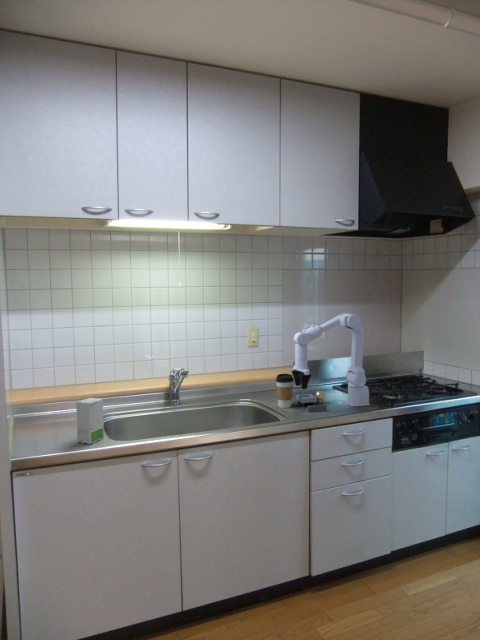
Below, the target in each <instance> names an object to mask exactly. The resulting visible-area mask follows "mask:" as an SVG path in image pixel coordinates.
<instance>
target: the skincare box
mask: <svg viewBox="0 0 480 640" xmlns="http://www.w3.org/2000/svg"><path fill="white" fill-rule="evenodd" d="M75 405H76V431H77V432H76V433H77V443H79V442H81V443H80V444H84V443H87V444H86V445H92V444H94V443H97V442H99V441H101V440H103V438H104V439H105V432H104V427H105V426H104V401H103V398H99V397H98V398H96V397H89V398H86V399H85V398H84V399H82V400H78V401H76V402H75ZM98 440H99V441H98ZM96 441H97V442H96ZM91 443H92V444H91Z"/></svg>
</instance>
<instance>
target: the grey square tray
mask: <svg viewBox="0 0 480 640" xmlns="http://www.w3.org/2000/svg"><path fill="white" fill-rule="evenodd" d="M295 398H296V400H297V401H296V402H297V403H298V404H300V403H301V406H302V407H304V406H305V403H312V406H316V402H317V398H316V395H313V394H311V393H307V394H304V393H303V394H296V395H295Z"/></svg>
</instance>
